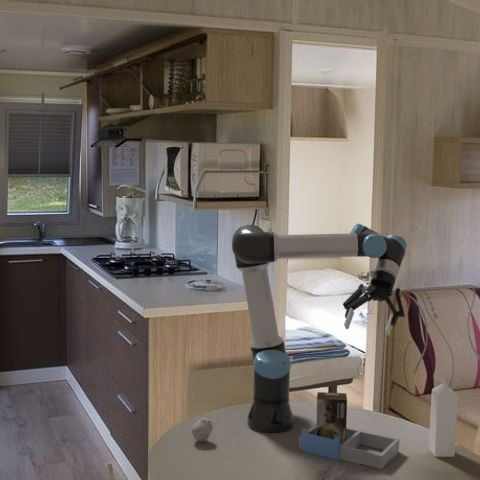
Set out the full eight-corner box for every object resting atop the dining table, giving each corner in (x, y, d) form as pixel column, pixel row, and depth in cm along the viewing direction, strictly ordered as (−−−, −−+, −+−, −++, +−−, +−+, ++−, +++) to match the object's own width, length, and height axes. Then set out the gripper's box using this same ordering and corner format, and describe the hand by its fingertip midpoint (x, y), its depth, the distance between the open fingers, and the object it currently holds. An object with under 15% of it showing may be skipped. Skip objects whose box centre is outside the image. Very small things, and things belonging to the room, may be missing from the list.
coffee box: (345, 443, 230) (347, 392, 228) (345, 451, 223) (348, 399, 221) (315, 441, 231) (317, 391, 229) (315, 450, 224) (317, 398, 222)
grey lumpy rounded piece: (217, 440, 230) (217, 418, 229) (200, 446, 225) (200, 424, 224) (203, 435, 234) (204, 413, 233) (186, 440, 229) (187, 419, 228)
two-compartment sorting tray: (298, 450, 224) (298, 428, 223) (319, 433, 237) (320, 413, 236) (380, 470, 211) (381, 447, 210) (398, 451, 224) (399, 430, 223)
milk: (447, 449, 227) (452, 378, 225) (454, 457, 221) (459, 385, 219) (428, 449, 227) (432, 378, 224) (434, 457, 221) (438, 384, 218)
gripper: (424, 287, 242) (407, 342, 231) (352, 279, 255) (332, 330, 244) (419, 273, 237) (402, 328, 226) (346, 265, 249) (326, 318, 238)
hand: (366, 330), depth 235 cm, fingers open, 13 cm apart
